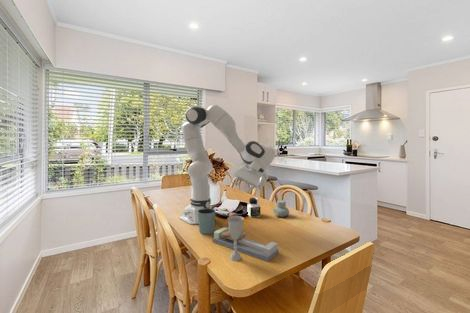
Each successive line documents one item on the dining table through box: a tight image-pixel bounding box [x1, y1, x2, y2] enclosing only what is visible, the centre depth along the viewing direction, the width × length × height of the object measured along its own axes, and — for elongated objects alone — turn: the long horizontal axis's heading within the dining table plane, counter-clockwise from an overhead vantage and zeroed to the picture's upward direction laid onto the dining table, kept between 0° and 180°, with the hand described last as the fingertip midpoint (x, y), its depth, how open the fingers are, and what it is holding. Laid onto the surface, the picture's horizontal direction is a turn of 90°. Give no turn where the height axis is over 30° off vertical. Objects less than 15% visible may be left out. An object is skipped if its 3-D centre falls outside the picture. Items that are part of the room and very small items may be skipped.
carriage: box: [221, 212, 247, 241], centre depth 118 cm, size 10×8×12 cm
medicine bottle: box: [246, 197, 261, 218], centre depth 161 cm, size 7×7×12 cm
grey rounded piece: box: [272, 199, 290, 218], centre depth 161 cm, size 11×8×10 cm
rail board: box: [212, 226, 279, 263], centre depth 115 cm, size 32×10×5 cm, turn 53°
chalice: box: [226, 215, 245, 262], centre depth 104 cm, size 7×7×18 cm
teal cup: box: [197, 208, 216, 235], centre depth 134 cm, size 10×10×12 cm
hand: (240, 187), depth 132 cm, fingers open, 8 cm apart
